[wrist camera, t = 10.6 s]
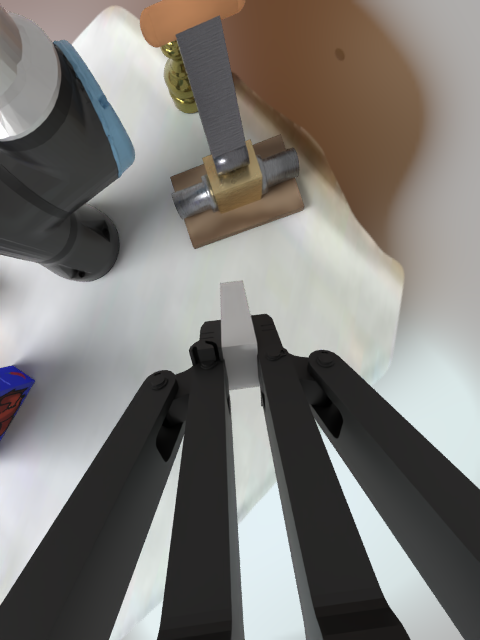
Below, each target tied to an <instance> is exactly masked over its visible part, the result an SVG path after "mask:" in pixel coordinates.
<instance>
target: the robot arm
mask: <svg viewBox="0 0 480 640" xmlns="http://www.w3.org/2000/svg"><path fill="white" fill-rule="evenodd" d="M134 159H135V150H134V147H133V144H132V142H131V140H130V138H129V136H128V134H127V132H126V130H125V128H124V127H123V125H122V123H121V121H120V119H119V118H118V116H117V114H116V113H115V111H114V109H113V108H112V106H111V105H110V103H109V102H108V101H107V98H106V96H105V95H104V93H103V92H102V90H101V88H100V86H99V84H98V83H97V81H96V80H95V78H94V76H93V75H92V73H91V72H90V70H89V69H88V67H87V66H86V64H85V63H84V61H83V60H82V58H81V57H80V55H79V54H78V53H77V51H76V50H75V49H74V47H73V46H72V45H71V44H70V43H69V42H67V41H65V40H61V41H54V42H53V43H52V41H51V40H50V39H49V37H48V36H47V35H46V33H45V32H44V31H43V30H42V29H41V28H40V27H39V26H38V25H37V24H36V23H34V22H33V21H32V20H30V19H28V18H26V17H24V16H21V15H19V14H15V13H12V12H8V11H6V10H5V9H4V8H3V7H2V5H1V4H0V255H4V256H9V257H13V258H18V259H22V260H27V261H32V262H36V263H39V264H41V265H42V266H44V267H46V268H47V269H49V270H50V271H52V272H54V273H55V274H57V275H59V276H61V277H63V278H66V279H69V280H74V281H80V282H88V281H93V280H96V279H98V278H100V277H102V276H103V275H105V274H106V273H107V272H108V271H109V270H110V269H111V268H112V266H113V265H114V263H115V261H116V259H117V256H118V251H119V237H118V233H117V230H116V228H115V226H114V224H113V223H112V221H111V220H110V219H109V218H108V217H107V216H106V215H105V214H104V213H102V212H101V211H99V210H98V209H96V208H94V207H93V206H90V205H88V204H85V203H86V202H88V201H89V200H90V199H92V198H93V197H94V196H96V195H97V194H98V193H99V192H101V191H102V190H103V189H105V188H106V187H107V186H109V185H110V184H111V183H112V182H114V181H115V180H116V179H118V178H120V177H121V175H122V173H123V172H124V171H125V170H126V169H127V168H128V167H129V166H131V165H132V164H133V162H134ZM220 296H221V320H216V321H207V322H205V323H204V324H203V325H202V327H201V330H200V340H199V341H198V342H196V343H194V344H193V345H192V346H191V347H190V349H189V353H190V357H191V360H192V364H193V366H192V367H191V368H190V369H188V370H186V371H184V372H182V373H179V374H176V375H175V374H174V373H172V372H171V371H168V370H162V371H158V372H155V373H153V374H152V375H150V376H149V377H148V378H147V379H146V380H145V381H144V382H143V384H142V386H141V387H140V389H139V390H138V392H137V393H136V395H135V396H134V398H133V400H132V401H131V403H130V404H129V406H128V407H127V409H126V410H125V412H124V414H123V415H122V417H121V418H120V420H119V421H118V423H117V424H116V426H115V428H114V429H113V431H112V432H111V434H110V435H109V437H108V439H107V440H106V442H105V443H104V445H103V446H102V448H101V449H100V451H99V453H98V454H97V456H96V457H95V459H94V460H93V462H92V463H91V465H90V467H89V468H88V470H87V471H86V473H85V474H84V476H83V477H82V479H81V481H80V482H79V484H78V485H77V487H76V488H75V490H74V492H73V493H72V495H71V496H70V498H69V499H68V501H67V502H66V504H65V506H64V507H63V509H62V510H61V512H60V513H59V515H58V516H57V518H56V520H55V521H54V523H53V524H52V526H51V527H50V529H49V531H48V532H47V534H46V535H45V537H44V538H43V540H42V541H41V543H40V545H39V546H38V548H37V549H36V551H35V552H34V554H33V555H32V557H31V559H30V560H29V562H28V563H27V565H26V566H25V568H24V569H23V571H22V573H21V574H20V576H19V577H18V579H17V580H16V582H15V584H14V585H13V587H12V588H11V590H10V591H9V593H8V594H7V596H6V598H5V599H4V601H3V602H2V604H1V605H0V640H109V638H110V635H111V632H112V630H113V627H114V624H115V621H116V619H117V616H118V613H119V611H120V608H121V605H122V602H123V600H124V597H125V594H126V591H127V589H128V586H129V583H130V580H131V578H132V575H133V572H134V570H135V567H136V564H137V561H138V559H139V556H140V553H141V550H142V548H143V545H144V542H145V539H146V537H147V534H148V531H149V529H150V526H151V523H152V520H153V518H154V515H155V512H156V509H157V507H158V504H159V501H160V498H161V496H162V493H163V490H164V488H165V485H166V482H167V479H168V477H169V474H170V471H171V468H172V466H173V463H174V460H175V458H176V455H177V452H178V449H179V447H180V444H181V441H182V438H183V436H184V441H183V449H182V457H181V464H180V472H179V480H178V488H177V496H176V504H175V512H174V520H173V528H172V536H171V544H170V552H169V560H168V568H167V576H166V584H165V592H164V600H163V607H162V615H161V622H160V628H159V633H158V637H157V640H245V639H244V625H243V609H242V592H241V575H240V557H239V541H238V523H237V506H236V489H235V471H234V454H233V437H232V420H231V403H230V395H229V390H235V389H243V388H251V387H259V386H260V388H261V406H263V409H264V415H265V420H266V425H267V431H268V436H269V441H270V446H271V452H272V457H273V462H274V467H275V473H276V478H277V483H278V488H279V494H280V499H281V504H282V509H283V514H284V520H285V525H286V530H287V536H288V541H289V546H290V552H291V557H292V562H293V567H294V573H295V578H296V583H297V588H298V594H299V599H300V603H301V610H302V615H303V621H304V627H305V634H306V640H410V638H409V636H408V634H407V632H406V630H405V629H404V627H403V625H402V623H401V622H400V621H399V619H398V618H397V617H396V615H395V614H394V613H393V611H392V610H391V608H390V607H389V605H388V603H387V601H386V600H385V598H384V595H383V593H382V591H381V588H380V586H379V583H378V581H377V578H376V576H375V573H374V571H373V568H372V566H371V563H370V560H369V558H368V555H367V553H366V550H365V547H364V545H363V542H362V540H361V537H360V535H359V532H358V529H357V527H356V524H355V522H354V519H353V517H352V514H351V512H350V509H349V506H348V504H347V502H346V499H345V496H344V494H343V491H342V489H341V486H340V483H339V481H338V478H337V476H336V473H335V471H334V468H333V465H332V463H331V460H330V458H329V455H328V453H327V450H326V447H325V445H324V442H323V440H322V437H321V435H320V432H319V429H318V427H317V424H316V422H315V420H316V421H317V423H318V424H319V426H320V427H321V429H322V430H323V432H324V433H325V434H326V436H327V437H328V439H329V440H330V442H331V443H332V445H333V446H334V448H335V449H336V451H337V452H338V454H339V455H340V457H341V458H342V459H343V461H344V462H345V464H346V465H347V467H348V468H349V470H350V471H351V473H352V474H353V476H354V477H355V479H356V480H357V482H358V483H359V485H360V486H361V488H362V489H363V491H364V492H365V493H366V495H367V496H368V498H369V499H370V501H371V502H372V504H373V505H374V507H375V508H376V510H377V511H378V513H379V514H380V516H381V517H382V518H383V520H384V521H385V523H386V524H387V526H388V527H389V529H390V530H391V532H392V533H393V535H394V536H395V538H396V539H397V541H398V542H399V543H400V545H401V547H402V548H403V549H404V551H405V552H406V554H407V555H408V557H409V558H410V560H411V561H412V563H413V564H414V566H415V567H416V569H417V570H418V571H419V573H420V575H421V576H422V578H423V579H424V580H425V582H426V583H427V585H428V586H429V588H430V589H431V591H432V592H433V594H434V595H435V597H436V598H437V599H438V601H439V603H440V604H441V605H442V607H443V608H444V610H445V611H446V613H447V614H448V616H449V617H450V618H451V620H452V622H453V623H454V625H455V626H456V628H457V629H458V630H459V632H460V634H461V635H462V636H463V638H464V639H465V640H480V489H478V487H476V486H475V485H474V484H473V483H472V482H471V481H470V480H469V479H468V478H467V477H466V476H465V475H464V474H463V473H462V472H461V471H460V470H459V469H458V468H456V467H455V466H454V465H453V464H452V463H451V462H450V461H449V460H448V459H447V458H446V457H445V456H443V454H442V453H441V452H440V451H438V450H437V449H436V448H435V447H434V446H433V445H432V444H431V443H430V442H429V441H428V440H427V439H426V438H424V436H423V435H422V434H421V433H419V432H418V431H417V430H416V429H415V428H414V427H413V426H412V425H411V424H410V423H409V422H408V421H407V420H406V419H405V418H404V417H402V415H400V414H399V413H398V412H397V411H396V410H395V409H394V408H393V407H392V406H391V405H390V404H389V403H388V402H387V401H386V400H384V398H382V397H381V396H380V395H379V394H378V393H377V392H376V391H375V390H374V389H373V388H372V387H371V386H370V385H369V384H368V383H367V382H366V381H365V380H364V379H362V378H361V377H360V376H359V375H358V374H357V373H356V372H355V371H354V370H353V369H352V368H351V367H350V366H349V365H348V364H347V363H346V362H344V361H343V360H342V359H341V358H340V357H339V356H338V355H336V354H335V353H333V352H330V351H327V350H318V351H314V352H312V353H311V354H310V356H309V358H307V357H299V356H294V355H292V354H289V353H288V351H287V350H286V349H285V348H283V346H282V344H281V341H280V338H279V336H278V333H277V330H276V327H275V325H274V322H273V319H272V318H271V317H270V316H269V315H267V314H261V315H252V316H251V315H250V310H249V306H248V302H247V297H246V293H245V289H244V284H243V281H234V282H226V283H220ZM314 418H315V419H314Z"/></svg>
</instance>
